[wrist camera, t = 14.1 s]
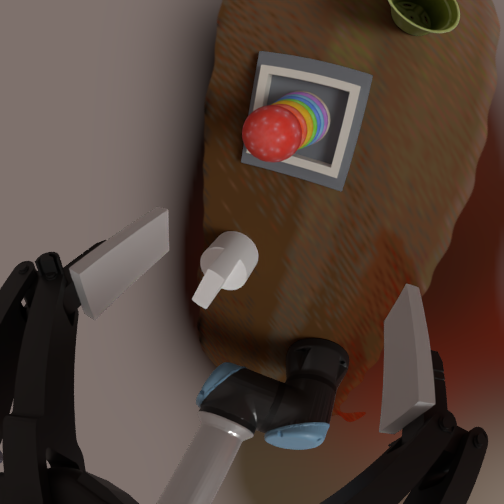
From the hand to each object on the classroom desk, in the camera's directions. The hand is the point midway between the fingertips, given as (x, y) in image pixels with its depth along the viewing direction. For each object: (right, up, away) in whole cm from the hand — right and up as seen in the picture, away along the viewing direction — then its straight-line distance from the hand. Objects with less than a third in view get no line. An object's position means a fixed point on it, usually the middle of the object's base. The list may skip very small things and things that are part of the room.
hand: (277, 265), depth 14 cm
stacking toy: (+6, +19, +21) cm, 29 cm away
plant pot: (+21, +33, +7) cm, 40 cm away
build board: (+6, +20, +22) cm, 30 cm away
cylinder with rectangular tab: (-4, +1, +39) cm, 39 cm away
